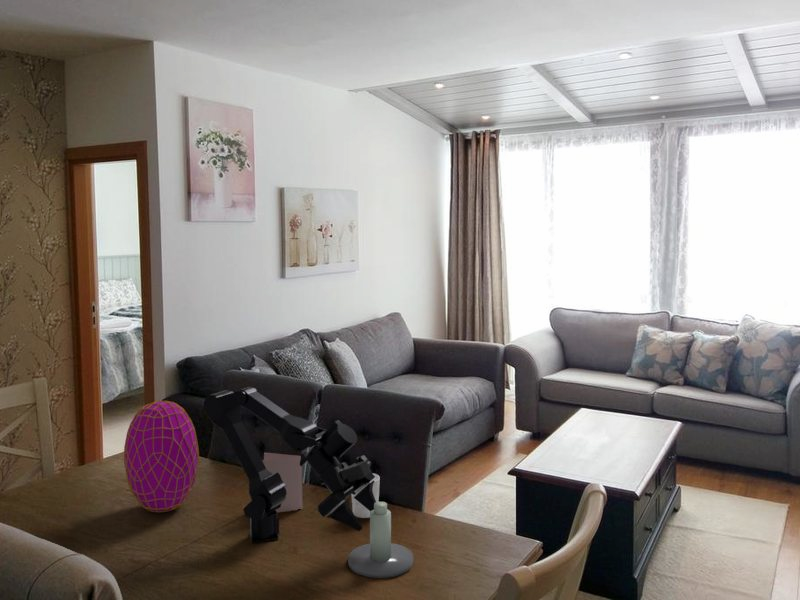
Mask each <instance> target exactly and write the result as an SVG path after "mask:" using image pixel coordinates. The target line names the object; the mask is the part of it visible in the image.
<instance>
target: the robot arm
mask: <svg viewBox="0 0 800 600" xmlns="http://www.w3.org/2000/svg"><path fill="white" fill-rule="evenodd" d="M241 406H242V407H244V408H245V409H247V410H248V411H249V412H251V413H252V414H254V415H255V416H256V417H258V418H259V419H261V420H262V421H263V422H265V423H266V424H268V425H269V426H271V427H272V428H273V429H275V431H276V432H278V433H279V434H280V437H281V439H282V441H283V442H284V443H285V444H286V445H287V446H288V447H289V448H290V449H291V450H292V451H294V452H302V451H304V452H302V453H300V456H301V460H300V466H302V467H303V466H304V465H307V464H308V465H309V466H310V467H311V468H312V469H313V471H314V472H315V474H316V476H318V478H320V480H319V481H318V483H319V485H320V486H322V485H325V486H326V488H327V489H328V490H329V491H330V494H329V495H328V496H327V497H326V498H325V499H323V501H321V502H320V503H319V504H318V505H317V512H318V515H320V516H321V518H322V519H323V518H324V517H326V518H327V519H332V520H335V521H336V522H339V523H341V524H343V525H346V526H347V527H349V528H352V529H354V530H356V531H357V532H360V531H362V530H363V527H362V525H361V523H360V521H359V520H358V517H356V516H355V515H354V514H353V510H352V509H351V507H350V498H347V497H349V496H350V495H351V494H353V495H355V494H357V495H356V496H355V497H354V498H355V499H356V500H357V501H358V502H359V503H361V504H362V505H363V506H364V507H366V508H367V509H368V510H369V511H372V510H374V503H376V500H375V498H374V495H373V491H372V489H373V483H374V480H373V479H374V478H375V476H374V475H373V474H372V473H373V472H372V471H371V465H372V462H371V461H370V460H369V459H368V458H367V457H366V456H365V455H360V456H358V457H357V458H356V459H355V462H354V463H353V464H351V465H348V464H347V463H346V462H344V461H342V462H340V461H339V460H338V459H337V458H342V456H343V455H345V454H346V453H347V452H348V451H349V450H350V449H351V448H352V447H353V446H354V445H355V444H356V443H357V442H358V436H357V433H356V432H355V430H354V428H352V427H351V426H349V425H348V424H345V423H342V422H341V421H340V420H339V419H338V420H336V421H334V422H333V423H331V425H330V427H329V428H328V429H327V428H326V429H325V428H322V427H318V426H317V424H316V423H314V422H312V421H310V420H308V419H305V417H304V418H303V417H299V416H295V415H292V414H290V413H289V412H287V411H286V410H284V409H283V408H281V407H280V406H279V405H277V404H275V403H274V402H273V401H271V400H270V399H268V398H267V397H265V396H264V395H262V394H261V393H260V392H258V390H257V389H256V388H255V387H252V386H247V387H243V388H241V389H239V390H236V391H231V390H227V389H226V390H221V391H218V392H215V393H212V394H209V395H207V396H206V397H205V398H204V401H203V405H202V408H203V411H204V413H205V414H206V416H207V418H209V420H210V421H211V423H213V424H214V425H215V426H217V427H218V428H220V429H221V430H222V431H223V433H224V435H225V437H226V439H227V441H228V443H229V444H230V446H231V448H232V450H233V452H234V454H235V456H236V458H237V460H238V462H239V464H240V466H241V467H242V469H243V471H244V473H245V475H246V477H247V479H248V481H249V482H248V484H249V485H248V489H249V490H248V494H249V496H250V499H251V500H250V502H248V504H247V505H246V506H244V508H243V509H242V510H243V513H244V517H245V518H249V528H250V529H249V531H248V534H249V538H250V542H251V543H253V544H254V543H262V542H268V541H269V542H270V541H276V540H279V534H280V518H279V515H278V512H277V513H276V510H277V509H278V508H280V507H281V504H282V502H284V500H285V498H286V494H287V492H286V489H285V486H286V485H285V484H284V482H283V481H282V479H281V476H280V474H279V473H278V472H276V473H275V474H272V473H271V472H269V471H268V470H267V469H266V467H265V465H264V463H263V461H262V460H263V459H262V458H261V456H260V453H259V452H258V450H257V448H256V446H255V445H254V443H253V441H252V439H251V437H250V435H249V434H248V431H247V429H246V427H245V425H244V424H243V422H242V419H241V415H242V412H241ZM317 444H320V445H317ZM308 448H311V449H310V450H308V451H305V450H306V449H308ZM372 480H373V481H372ZM370 481H372V482H371V483H370Z"/></svg>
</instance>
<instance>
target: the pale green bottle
mask: <svg viewBox="0 0 800 600" xmlns="http://www.w3.org/2000/svg"><path fill="white" fill-rule="evenodd" d="M391 533H392V512H391V510H389V509H388V503H387V502H385V501H379V502H376V503H374V510H372V511H371V512H370V518H369V543H370V558H371V559H372V560H373V561H377V562H384V561H387V560H389V559H390V558H391V543H392V534H391Z"/></svg>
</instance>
